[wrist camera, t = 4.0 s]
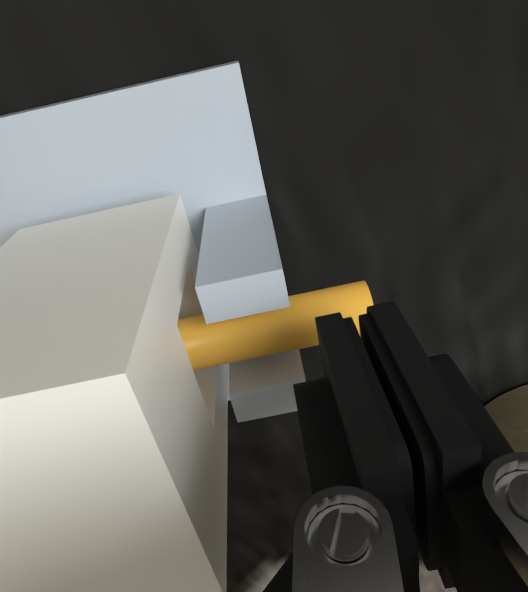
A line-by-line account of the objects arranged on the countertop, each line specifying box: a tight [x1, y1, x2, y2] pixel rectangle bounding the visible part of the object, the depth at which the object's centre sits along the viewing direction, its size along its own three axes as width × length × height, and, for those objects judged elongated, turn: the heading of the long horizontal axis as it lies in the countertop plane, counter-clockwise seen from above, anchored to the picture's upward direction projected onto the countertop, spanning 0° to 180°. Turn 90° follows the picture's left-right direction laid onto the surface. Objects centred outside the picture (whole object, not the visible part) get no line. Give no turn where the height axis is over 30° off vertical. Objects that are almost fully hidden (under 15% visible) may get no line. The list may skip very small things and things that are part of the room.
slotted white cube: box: [0, 194, 228, 592], centre depth 12 cm, size 6×5×8 cm
